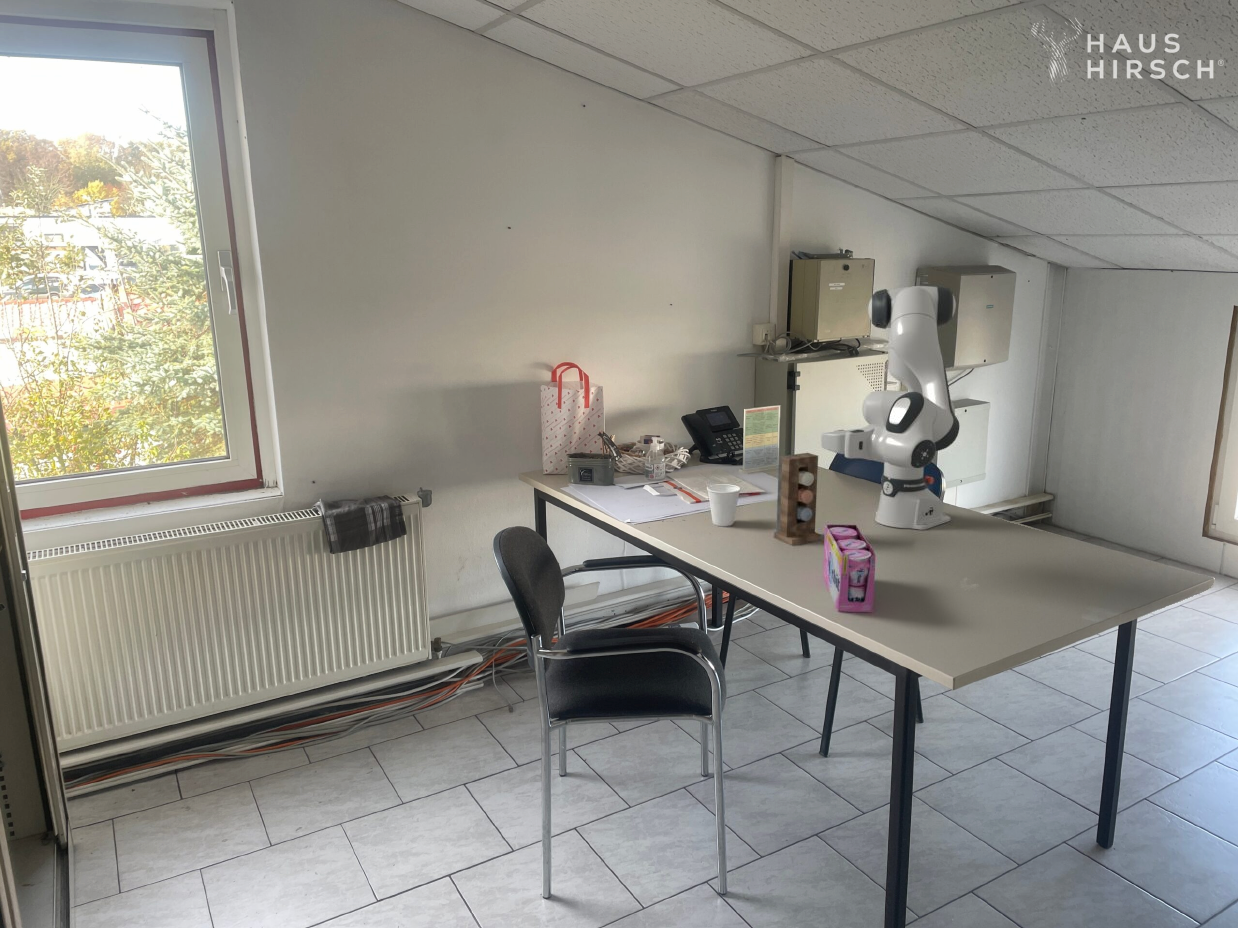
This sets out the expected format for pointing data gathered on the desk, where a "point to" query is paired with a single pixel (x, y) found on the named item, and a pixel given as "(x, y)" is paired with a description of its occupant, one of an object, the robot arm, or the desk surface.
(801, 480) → the cream button
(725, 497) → the cup
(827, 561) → the gum box
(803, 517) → the slate button
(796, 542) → the wooden dispenser tower
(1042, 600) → the desk surface
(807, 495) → the terracotta button
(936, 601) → the desk surface
